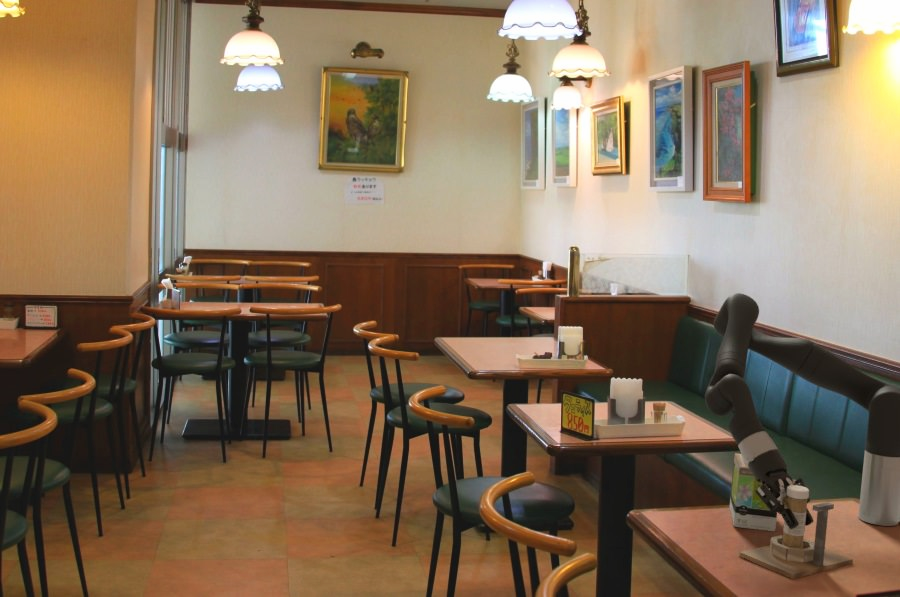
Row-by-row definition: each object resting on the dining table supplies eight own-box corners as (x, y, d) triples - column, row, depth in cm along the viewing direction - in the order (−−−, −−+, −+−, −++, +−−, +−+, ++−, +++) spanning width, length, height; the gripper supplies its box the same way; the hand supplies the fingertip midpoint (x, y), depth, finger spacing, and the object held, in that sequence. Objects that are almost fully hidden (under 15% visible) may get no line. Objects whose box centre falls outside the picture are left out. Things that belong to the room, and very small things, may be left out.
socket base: (798, 542, 230) (804, 483, 228) (852, 563, 218) (858, 500, 217) (739, 556, 219) (744, 493, 217) (792, 579, 207) (798, 513, 206)
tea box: (777, 532, 236) (782, 471, 235) (732, 527, 238) (737, 466, 237) (770, 513, 251) (775, 455, 249) (728, 508, 253) (733, 451, 251)
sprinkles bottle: (782, 542, 222) (788, 483, 221) (804, 546, 220) (810, 486, 219) (780, 548, 218) (785, 488, 217) (802, 552, 216) (808, 492, 215)
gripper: (772, 461, 232) (811, 529, 223) (730, 468, 224) (769, 538, 216) (793, 444, 227) (834, 513, 218) (751, 451, 219) (792, 522, 211)
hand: (802, 525), depth 217 cm, fingers closed on sprinkles bottle, 4 cm apart
